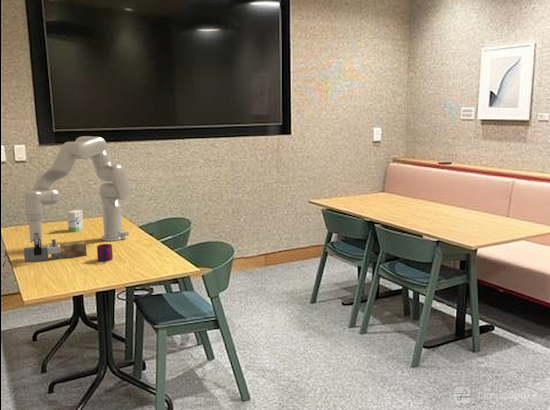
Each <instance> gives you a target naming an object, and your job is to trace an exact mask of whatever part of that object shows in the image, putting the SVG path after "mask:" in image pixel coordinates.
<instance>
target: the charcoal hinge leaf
mask: <svg viewBox="0 0 550 410" xmlns="http://www.w3.org/2000/svg"><path fill="white" fill-rule="evenodd" d="M56 245H57V247H53V246H52V244H50V245H49V244H48V245H43V246H41V251H42V255H37V256H35V255H34V246H32V247H30V246H29V247H24V248H23V256H24V263H31V261H33V262H42V261H48V260H49V255H51V254H55V253H61V252H60V251H61V244H60V243H59V244H57V243H56Z"/></svg>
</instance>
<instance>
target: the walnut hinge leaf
mask: <svg viewBox="0 0 550 410" xmlns="http://www.w3.org/2000/svg"><path fill="white" fill-rule="evenodd" d="M51 242H52V243H51V245H52V246H53V247H57V239H56V238H54V239H53V238H52V239H51ZM60 252H61V253H55V254H50V257H51V260H56V259H62V258H65V259H66V258H67V259H68V258H76V257H85V256H86V257H87V244H86V241H82V242H81V241H80V242H71V243H69V242H68V243H63V250H60Z"/></svg>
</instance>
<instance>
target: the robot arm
mask: <svg viewBox="0 0 550 410" xmlns="http://www.w3.org/2000/svg"><path fill="white" fill-rule="evenodd" d="M106 148H107V142H106V140H105V139H104V138H103V137H101V136H89V135H87V136H86V135H85V136H79V137H77V138H76V139H75V141H66V142H64V143H62V145H61V147H60V149H59V151H58V153H57V155H56V156H55V159H54V161H53V163H52V165H51V166H50V167H49V168H48V169H47V170H46V171H44V172H43V174H41V175H40V176H39V177H38V178H37V180H36V182H35V184H34V186H33V188H32V190H28V191H25V192H24V195H23V197H24V198H23V199H24V207H25V208H24V209H25V210H24V211H25V219H26V222H28V228H29V229H28V230H29V240H30V243H33V247H34V255H35V256H37V255H42V251H41V246H42V240H43V224H42V223H43V222H42V221H44V220H45V216H44V215H45V213H44V205H45V206H46V205H51V206H52V205H55V204H58V202H59V201H60V199H61V194H60V192H59V191H58V190H57V189H54V188H53V189H52V188H50V187H51V186H52V185H53V184H54V183H56V181H58V180H61V179H64V178H65V177H67V176H68V175H69V174H70V172H71V170H72V168H73V166H74V164H75V162H76V161H77V160H86V159H89V158H90V159H91V162H92V164H93V167H94V171H95V173H96V177H97V178H98V180H100V181H103V183H102V184H100V185H99V196H100V200H101V206H102V209H101V210H102V220H103V235H102V236H101V240H102V241H105V242H112V241H113V242H115V241H121V240H124V239H125V238H126V237H127V236H128V237H129V236H130V232H129V231H125V229H122V228H123V227H122V211H121V210H122V208H121V207H122V206H121V203H120V201H126V200H128V199H129V198H130V196H131V186H130V182H129V179H128V175H127V172H126V169H125V168H124V166H122V165H121V164H119V163H112V162H111V160H110V157H109V154H108V152H107V150H106Z"/></svg>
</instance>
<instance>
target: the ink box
mask: <svg viewBox="0 0 550 410" xmlns="http://www.w3.org/2000/svg"><path fill="white" fill-rule="evenodd" d="M67 223H68V224H67V225H68V226H67V227H68V232H71V233H76V232H80V231H82V230H84V215H83V209H73V210H70V211H68V212H67Z"/></svg>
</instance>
